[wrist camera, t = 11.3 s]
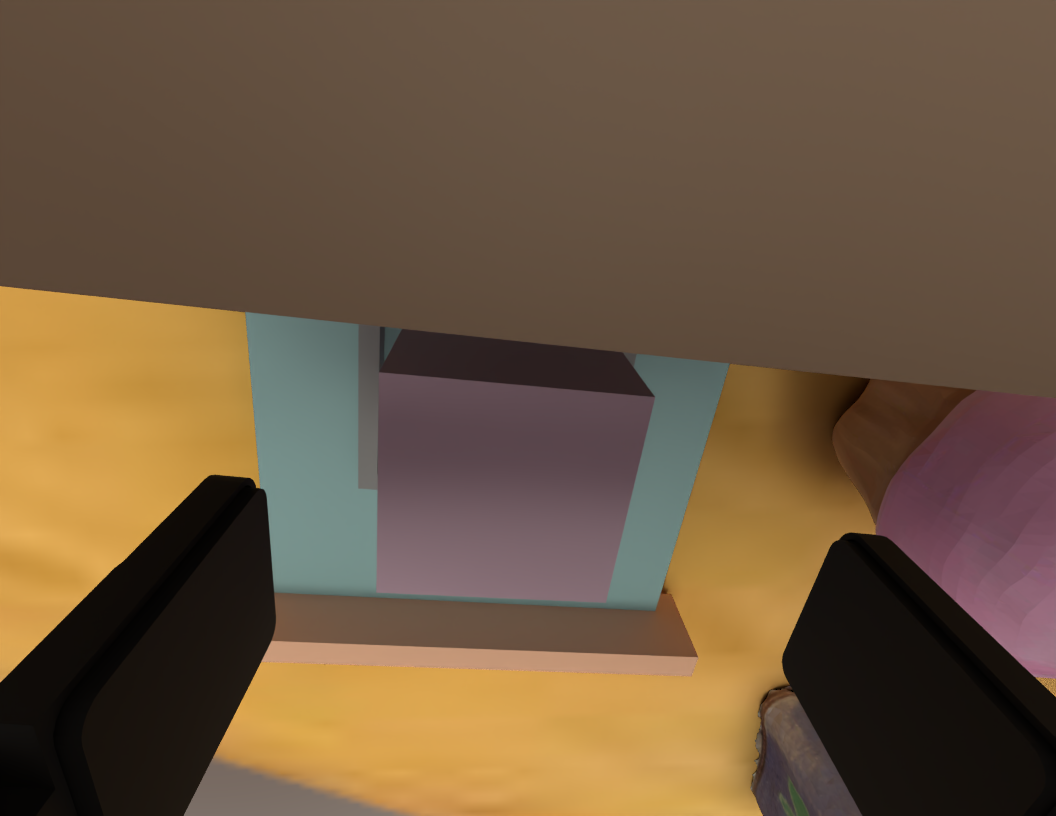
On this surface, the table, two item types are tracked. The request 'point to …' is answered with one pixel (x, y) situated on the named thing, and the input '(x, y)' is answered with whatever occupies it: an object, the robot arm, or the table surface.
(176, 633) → the robot arm
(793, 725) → the flask
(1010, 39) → the cabinet
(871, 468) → the cupcake
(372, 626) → the tray
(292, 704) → the table surface
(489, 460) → the block
